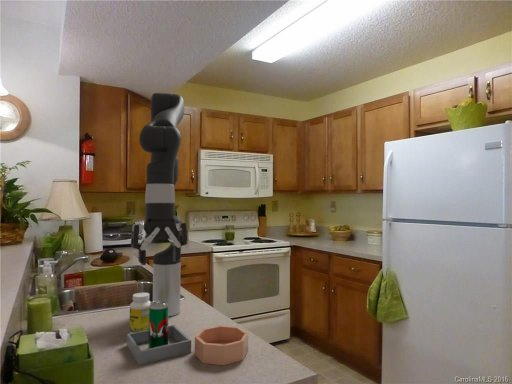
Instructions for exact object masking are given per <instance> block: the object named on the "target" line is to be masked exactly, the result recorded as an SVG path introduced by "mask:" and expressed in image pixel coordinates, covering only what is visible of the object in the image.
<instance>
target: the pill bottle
mask: <svg viewBox="0 0 512 384" xmlns="http://www.w3.org/2000/svg"><path fill="white" fill-rule="evenodd" d="M151 302H152V301H150V293H149V292H144V291H143V292H136V293H133V294H132V302H131V303H130V304H129V334H130V333H135V332H140V331H145V330H148V320H149V306H150V303H151Z"/></svg>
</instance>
